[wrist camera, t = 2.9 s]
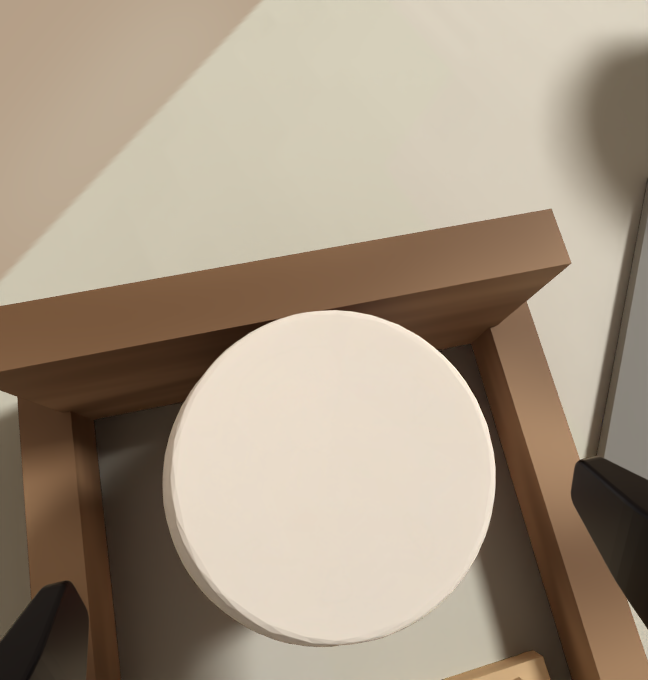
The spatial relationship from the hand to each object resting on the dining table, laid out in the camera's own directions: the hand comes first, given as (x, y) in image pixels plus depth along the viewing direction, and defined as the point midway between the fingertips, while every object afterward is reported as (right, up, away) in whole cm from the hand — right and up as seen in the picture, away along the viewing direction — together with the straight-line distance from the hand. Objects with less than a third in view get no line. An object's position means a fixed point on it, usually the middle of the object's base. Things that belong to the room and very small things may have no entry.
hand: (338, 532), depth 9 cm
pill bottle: (-1, -1, +9) cm, 9 cm away
